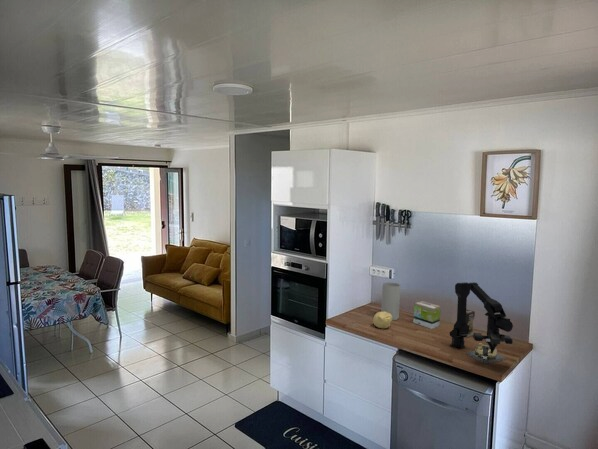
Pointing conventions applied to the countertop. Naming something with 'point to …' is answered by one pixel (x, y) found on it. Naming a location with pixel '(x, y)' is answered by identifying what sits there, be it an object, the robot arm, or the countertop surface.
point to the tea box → (426, 314)
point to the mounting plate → (486, 361)
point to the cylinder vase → (391, 299)
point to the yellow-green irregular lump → (485, 351)
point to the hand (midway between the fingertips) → (491, 353)
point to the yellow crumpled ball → (382, 319)
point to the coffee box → (470, 321)
